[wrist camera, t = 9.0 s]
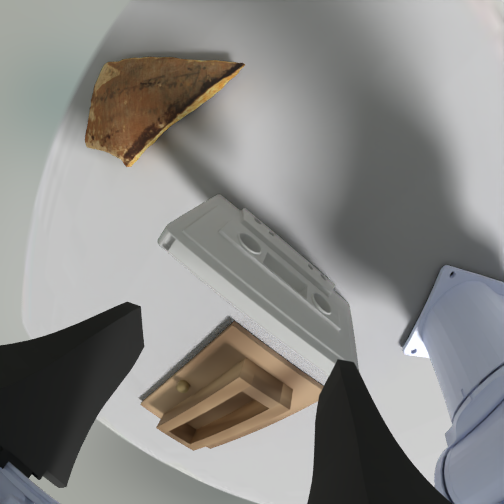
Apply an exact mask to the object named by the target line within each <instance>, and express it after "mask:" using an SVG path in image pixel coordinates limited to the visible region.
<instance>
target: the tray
mask: <svg viewBox="0 0 504 504" xmlns="http://www.w3.org/2000/svg"><path fill="white" fill-rule="evenodd" d="M323 387H324V386H323V385H321V384H320V383H318V382H317V381H315V380H314V379H312V378H311V377H310V376H308V375H307V374H305V373H304V372H302V371H301V370H300V369H298V368H297V367H295V366H294V365H293V364H291V363H290V362H288V361H287V360H286V359H284V358H283V357H282V356H280V355H279V354H278V353H276V352H275V351H273V350H272V349H271V348H269V347H268V346H267V345H265V344H264V343H263V342H261V341H260V340H259V339H257V338H256V337H255V336H254V335H252V334H251V333H250V332H248V331H247V330H246V329H244V328H243V327H242V326H241V325H239V324H238V323H237V322H235V321H234V322H233V323H231V324H230V325H229V326H228V327H227V328H226V329H225V330H224V331H223V332H222V333H220V334H219V335H218V336H217V337H216V338H215V339H214V340H213V341H212V342H210V343H209V344H208V345H207V346H206V347H205V348H204V349H203V350H201V351H200V352H199V353H198V354H197V355H196V356H195V357H193V358H192V359H191V360H190V361H189V362H188V363H187V364H185V365H184V366H183V367H182V368H181V369H180V370H179V371H177V372H176V373H175V374H174V375H173V376H172V377H170V378H169V379H168V380H167V381H166V382H165V383H163V384H162V385H161V386H160V387H159V388H158V389H156V390H155V391H154V392H153V393H152V394H150V395H149V396H148V397H147V398H146V399H144V400H143V401H142V402H141V404H140V405H142V406H143V407H145V408H146V409H147V410H149V411H150V412H152V413H153V414H154V415H156V416H157V417H159V418H160V419H161V420H160V422H159V424H158V425H157V427H156V428H157V429H159V430H160V431H162V432H163V433H165V434H166V435H168V436H170V437H171V438H173V439H175V440H176V441H178V442H180V443H181V444H183V445H185V446H186V447H188V448H190V449H192V450H193V451H194V450H197V449H200V448H202V447H205V446H206V447H208V448H210V449H211V448H213V447H216V446H219V445H222V444H225V443H227V442H230V441H233V440H235V439H238V438H240V437H243V436H245V435H248V434H250V433H253V432H255V431H257V430H260V429H262V428H264V427H267V426H269V425H271V424H273V423H275V422H277V421H280V420H282V419H284V418H286V417H288V416H290V415H292V414H294V413H296V412H298V411H300V410H302V409H304V408H306V407H308V406H310V405H311V404H313V403H315V402H317V401H318V399H319V394H320V393H321V391H322V389H323Z"/></svg>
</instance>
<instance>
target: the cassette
mask: <svg viewBox="0 0 504 504" xmlns="http://www.w3.org/2000/svg"><path fill="white" fill-rule="evenodd" d="M158 244H159V246H160V247H162V248H163V249H164V250H165V251H166V252H168V253H169V254H170V255H171V256H172V257H174V258H175V259H176V260H177V261H178V262H179V263H181V264H182V265H183V266H184V267H185V268H187V269H188V270H189V271H190V272H191V273H193V274H194V275H195V276H196V277H197V278H199V279H200V280H201V281H202V282H204V283H205V284H206V285H207V286H208V287H210V288H211V289H212V290H213V291H215V292H216V293H217V294H218V295H220V296H221V297H222V298H223V299H225V300H226V301H227V302H228V303H230V304H231V305H232V306H233V307H235V308H236V309H237V310H239V311H240V312H241V313H242V314H244V315H245V316H246V317H248V318H249V319H250V320H252V321H253V322H254V323H255V324H257V325H258V326H259V327H261V328H262V329H263V330H265V331H266V332H267V333H269V334H270V335H271V336H273V337H274V338H275V339H277V340H278V341H279V342H281V343H282V344H284V345H285V346H286V347H288V348H289V349H290V350H292V351H293V352H294V353H296V354H297V355H299V356H300V357H301V358H303V359H304V360H306V361H307V362H308V363H310V364H311V365H313V366H314V367H316V368H317V369H318V370H320V371H321V372H323V373H324V374H326V375H327V376H328V377H329V375H330V373H331V371H332V369H333V367H334V365H335V363H336V361H337V359H340V360H346V361H351V362H354V363H355V365H356V367H357V369H358V371H359V368H358V360H357V352H356V344H355V337H354V330H353V324H352V318H351V311H350V306H349V304H348V302H347V301H345V300H344V299H343V298H342V297H341V296H340V295H339V294H338V293H336V292H335V291H334V290H333V289H334V287H335V284H334V283H332V282H331V281H330V280H329V279H328V278H327V277H326V276H324V275H323V274H322V273H321V272H320V271H319V270H318V269H316V268H315V267H314V266H313V265H312V264H311V263H310V262H308V261H307V260H306V259H305V258H304V257H303V256H301V255H300V254H299V253H298V252H297V251H296V250H295V249H293V248H292V247H291V246H290V245H289V244H288V243H286V242H285V241H284V240H283V239H282V238H280V237H279V236H278V235H277V234H276V233H275V232H273V231H272V230H271V229H270V228H269V227H267V226H266V225H265V224H264V223H263V222H262V221H260V220H259V219H258V218H257V217H256V216H254V215H253V214H252V213H251V212H250V211H248V210H247V209H246V208H243V209H242V210H239V209H238V208H237V207H235V206H234V205H233V204H232V203H230V202H229V201H228V200H227V199H226V198H224V197H223V196H222V195H220V194H218V195H216V196H214V197H212V198H211V199H209V200H207V201H206V202H204V203H202V204H200V205H199V206H197V207H195V208H194V209H192V210H190V211H189V212H187V213H185V214H184V215H182V216H180V217H179V218H177V219H176V220H174V221H172V222H171V223H169V224H168V225H167V226H166V227H165V229H164V231H163V232H162V234H161V235H160V237H159V239H158Z"/></svg>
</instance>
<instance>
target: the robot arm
mask: <svg viewBox="0 0 504 504" xmlns="http://www.w3.org/2000/svg"><path fill="white" fill-rule="evenodd" d="M451 272H453V274H452V275H451V276H450V274H451ZM143 348H144V339H143V329H142V317H141V306H138V305H135V304H132V303H130V302H125V303H123V304H120V305H118V306H116V307H113V308H111V309H109V310H107V311H105V312H102V313H100V314H98V315H96V316H94V317H91V318H89V319H87V320H85V321H82V322H80V323H78V324H75V325H73V326H70V327H68V328H65V329H63V330H60V331H57V332H55V333H52V334H49V335H46V336H43V337H39V338H36V339H32V340H28V341H23V342H18V343H13V344H8V345H1V346H0V504H34V503H35V504H60V503H59V502H57V501H56V500H55V499H53V498H52V497H51V496H49V495H48V494H47V493H45V492H44V491H43V490H42V489H40V488H39V487H38V486H37V485H35V484H34V483H33V482H32V481H31V480H30V479H29V477H30V476H31V474H32V475H34V476H35V477H36V478H37V479H38V480H40V479H41V478H42V476H44V477H45V478H46V479H47V480H49V481H50V482H52V483H53V484H54V485H55V486H57V487H59V488H64V487H66V486H67V483H68V480H69V477H70V474H71V471H72V468H73V465H74V463H75V460H76V458H77V455H78V453H79V451H80V448H81V446H82V444H83V442H84V440H85V438H86V436H87V434H88V432H89V430H90V428H91V426H92V424H93V423H94V421H95V419H96V417H97V415H98V414H99V412H100V411H101V409H102V408H103V406H104V405H105V403H106V402H107V401H108V399H109V398H110V397H111V395H112V394H113V393H114V391H115V390H116V389H117V387H118V386H119V385H120V384H121V382H122V381H123V380H124V378H125V377H126V376H127V374H128V373H129V372H130V370H131V369H132V367H133V366H134V364H135V362H136V361H137V359H138V357H139V355H140V353H141V352H142V350H143ZM413 349H415V350H413ZM412 350H413V351H412ZM403 353H404V354H405V355H411V356H419V357H427V358H430V360H431V363H432V365H433V368H434V370H435V373H436V376H437V379H438V381H439V384H440V387H441V390H442V393H443V396H444V399H445V402H446V405H447V408H448V411H449V415H450V418H451V422H452V426H451V428H450V429H449V430H448V431H447V432H446V433H445V436H446V441H447V445H448V447H447V448H446V449H445V450H444V451H443V453H442V454H441V455H440V457H439V459H438V461H437V464H436V468H435V480H434V482H435V488H434V487H433V486H432V485H431V484H430V483H429V482H428V481H427V480H426V478H425V477H424V476H423V475H422V474H421V473H420V472H419V470H418V469H417V468H416V467H415V466H414V465H413V463H412V462H411V461H410V460H409V458H408V457H407V456H406V454H405V453H404V451H403V450H402V449H401V447H400V446H399V444H398V443H397V442H396V440H395V439H394V437H393V435H392V434H391V432H390V430H389V429H388V427H387V425H386V424H385V422H384V420H383V418H382V417H381V415H380V413H379V411H378V409H377V407H376V405H375V403H374V402H373V400H372V398H371V396H370V394H369V392H368V390H367V387H366V385H365V383H364V381H363V379H362V377H361V375H360V373H359V371H358V369H357V367H356V365H355V363H354V362H351V361H346V360H340V359H337V361H336V363H335V365H334V367H333V369H332V371H331V373H330V375H329V377H328V379H327V381H326V383H325V385H324V387H323V389H322V391H321V393H320V394H319V399H318V406H317V413H316V420H315V446H314V466H313V477H312V484H311V489H310V494H309V499H308V503H307V504H504V282H502V281H498V280H495V279H492V278H489V277H486V276H483V275H479V274H476V273H473V272H469V271H466V270H463V269H459V268H456V267H453V266H449V265H445V266H443V267H442V269H441V270H440V273H439V275H438V278H437V280H436V282H435V285H434V287H433V289H432V291H431V294H430V296H429V298H428V300H427V302H426V304H425V306H424V308H423V311H422V313H421V315H420V317H419V319H418V321H417V322H416V324H415V326H414V328H413V330H412V332H411V334H410V336H409V338H408V339H407V341H406V343H405V345H404V346H403Z"/></svg>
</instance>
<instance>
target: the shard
mask: <svg viewBox="0 0 504 504" xmlns="http://www.w3.org/2000/svg"><path fill="white" fill-rule="evenodd" d="M244 66H245V64H244V63H236V62H226V61H218V60H207V61H201V60H187V59H179V58H173V57H161V58H156V57H143V58H129V59H122V60H121V61H118V62H107V63H106V64H105V65H104V66H103V68H102V70H101V72H100V75H99V77H98V79H97V81H96V84H95V86H94V92H93V95H92V99H91V107H90V113H89V118H88V125H87V130H86V135H85V143H86V146H87V147H88V148H92V149H97V150H101V151H105V152H108V153H110V154H112V155H113V156H116V157H117V158H119V159H121V160H122V161H123V163H124V164H125V166H126V167H131V166H132V165H133V164H134V163H135V162H136V161H137V160H138V159H139V157H140V156H141V154H142V153H143V152H144V151H145V150H146V149H147V148H148V147H149V146H150V145H152V144H153V143H155V141H156V140H157V139H158V137H159V136H161V135H162V133H164V132H165V131H166V130H167V129H168V128H169V127H170V126H171V125H173V124H174V123H176V122H177V121H179V120H181V119H182V118H183V117H184V116H186V115H187V114H189V113H190V112H192V111H194V110H195V109H197V108H198V107H199V106H200V105H202V104H203V103H204V102H206V101H207V100H209V99H210V98H211V97H213V96H214V95H215V94H216V93H217V92H218V91H220V90H221V89H222V88H223V87H224V86H225V84H226V83H228V82H229V81H230V80H231V79H232V78H233V77H235V76H236V75H237V74H238V73H239V71H240V69H242V68H243V67H244Z"/></svg>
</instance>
